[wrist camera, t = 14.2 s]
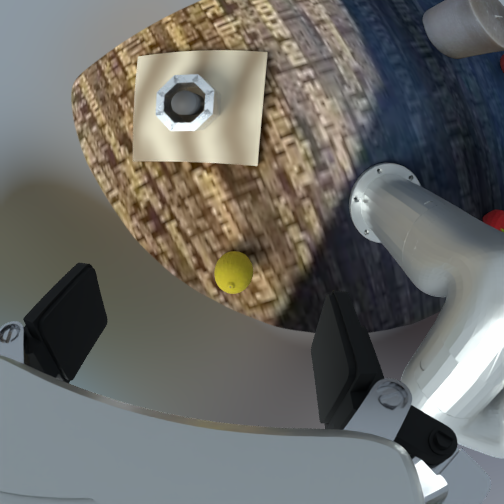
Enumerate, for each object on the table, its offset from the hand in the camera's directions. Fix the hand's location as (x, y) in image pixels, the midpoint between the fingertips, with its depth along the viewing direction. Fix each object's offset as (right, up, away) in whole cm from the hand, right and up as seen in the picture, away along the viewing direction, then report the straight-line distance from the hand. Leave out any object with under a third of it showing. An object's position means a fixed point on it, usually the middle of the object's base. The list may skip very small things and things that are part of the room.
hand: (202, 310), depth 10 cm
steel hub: (-6, +22, +22) cm, 31 cm away
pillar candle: (+33, +38, +14) cm, 52 cm away
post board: (-6, +22, +23) cm, 33 cm away
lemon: (0, +1, +34) cm, 34 cm away
